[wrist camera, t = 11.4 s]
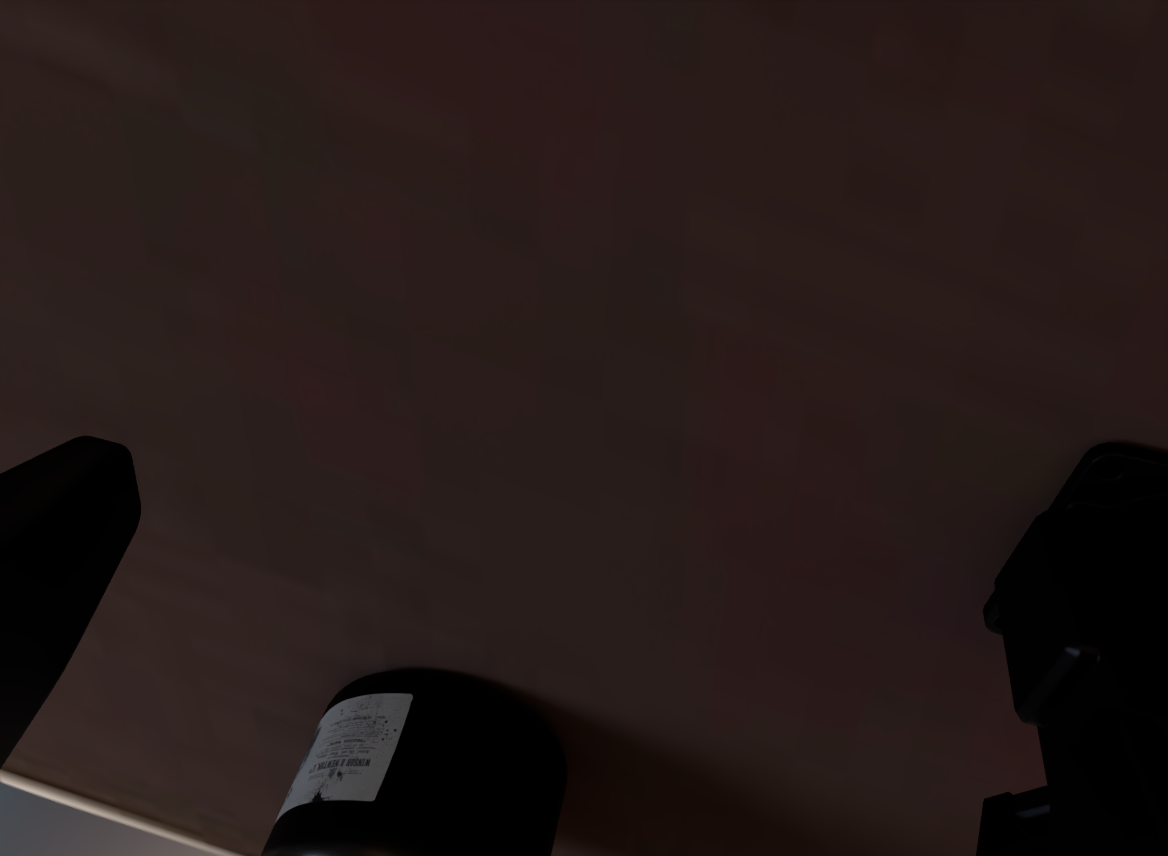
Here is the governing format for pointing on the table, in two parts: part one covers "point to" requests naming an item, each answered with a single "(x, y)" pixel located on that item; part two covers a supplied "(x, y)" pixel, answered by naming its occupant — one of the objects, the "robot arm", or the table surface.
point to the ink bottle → (423, 775)
